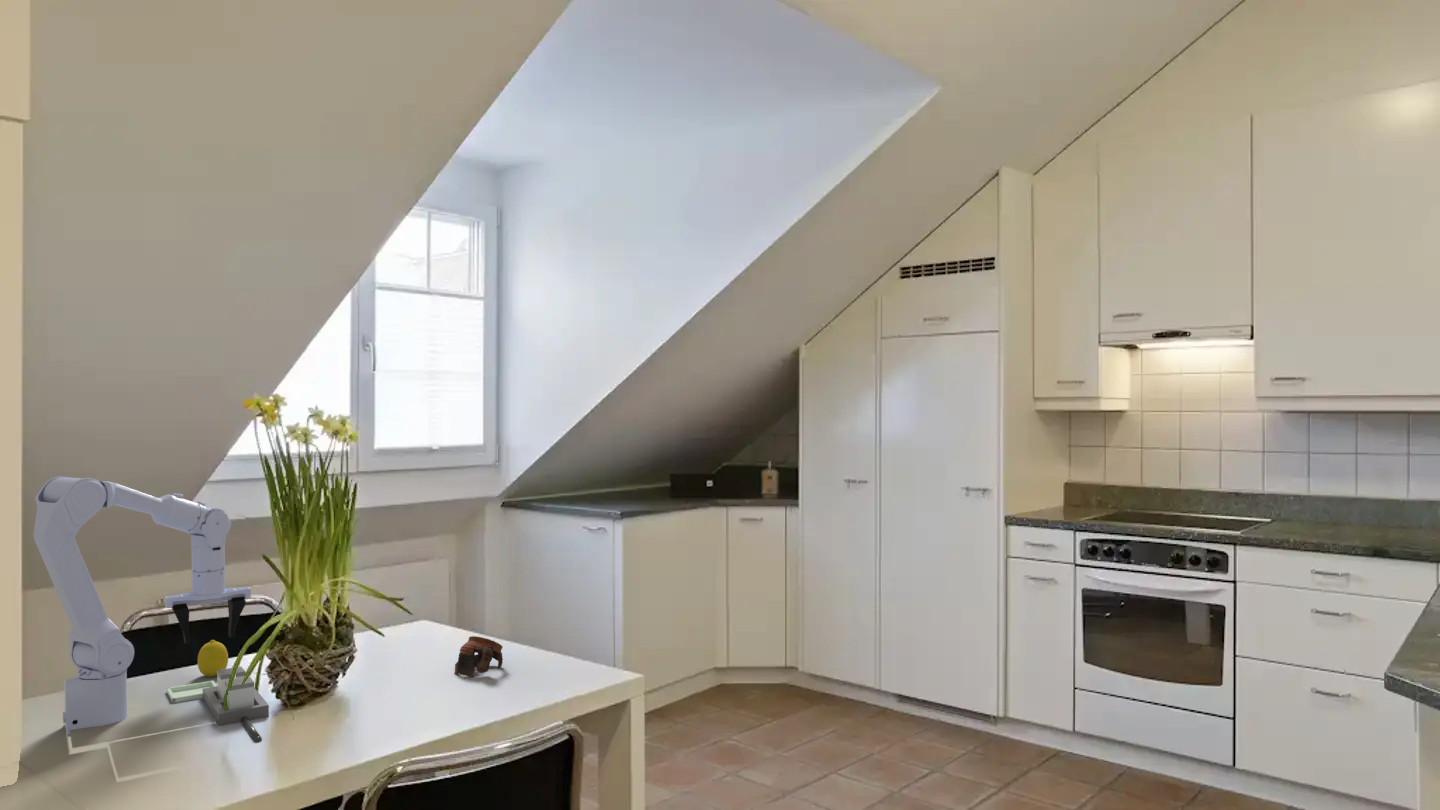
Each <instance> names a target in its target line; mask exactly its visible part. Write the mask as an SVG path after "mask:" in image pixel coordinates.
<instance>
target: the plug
mask: <svg viewBox="0 0 1440 810" xmlns="http://www.w3.org/2000/svg"><path fill="white" fill-rule="evenodd" d="M237 667H238V669H237V671H236V678H235V679H239V678H244V677H246V670H245V669H244V668H243V666H237ZM233 668H234V667H230V668H226V669H221V670H217V676H216V679H217V686H218V699H222V698H224V695H225V681H227V680H229V678H230V675H231V673H232V670H233Z"/></svg>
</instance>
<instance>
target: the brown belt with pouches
mask: <svg viewBox="0 0 1440 810" xmlns="http://www.w3.org/2000/svg"><path fill="white" fill-rule="evenodd" d="M502 649H503V645H502V644H500V643H499V642H496V641H495V640H492V639H489V638H487V637H483V636H482V637H481V636H477V635H476V636H475V635H473V636H469V637H468V640H467V642H465V643H463V644H462V646H461V647H460V649H459V654H458V659H457V660H458V661H457V662H456V663H455V664H454V674H459V675H461V676H466V677H469V676H473V677H474V675H475V671H477V672H478V673H480V674H484V673H488V671H489V669H490V665H491V662H492V659H494V660H495V661H497V667H498V668H499V667H500V668H501V667H502V666H503V660H504V658H503V652H502Z"/></svg>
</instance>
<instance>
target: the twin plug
mask: <svg viewBox="0 0 1440 810" xmlns="http://www.w3.org/2000/svg"><path fill="white" fill-rule="evenodd" d="M248 677H249V678H248V679H247V680H246V681H245V683H244V684H243V686H242V687H241V685H242V682H243V680H244V678H239V679H234V681H233V686H232V688H231V689H230V690H229V691H228V695H227V710H233V709H238V708H244V707H249V706H254V688H255V681H254V680H253V679H252V677H251V676H248ZM228 683H229V680H227V681H225V693H226V690H227V688H228Z"/></svg>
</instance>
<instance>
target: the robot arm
mask: <svg viewBox="0 0 1440 810" xmlns="http://www.w3.org/2000/svg"><path fill="white" fill-rule="evenodd" d="M183 497H184V494H181V493H175V492H174V493H173V492H172V494H168V493H167V494H165V495H162V496H160V497H156V496H153V495H150V494H148V493H144V492H141V491H139V490H137V489H133V488H130V487H128V486H126V485H121V484H120V483H117V482H111V481H105V480H98V479H96V478H92V477H91V478H90V477H83V478H82V477H81V478H79V477H70V476H69V477H68V476H67V475H64V476H63V475H59V476H55V477H53V478H50V479H49V480H47V481H46V482H45V483H44V484H43V485H42V487H41V488H40V490H39V492H38V493H37V494H36V496H35V497H34V500H35V501H34V502H35V503H36V507H37V509H36V515H35V522H34V530H33V534H32V535H33V541H34V543H35V545H36V547H37V549H38V552H39V554H40V557H41V559H42V561H43V564H44V566H45V568H46V571H47V572H48V575H49V578H50V580H51V582H52V584H53V587H54V589H55V591H56V593H57V597H58V599H59V600H60V602H61V605H62V607H63V610H64V612H65V614H66V616H67V619H68V622H69V623H70V626H71V630H70V632H69V633H68V635H67V636H68V640H69V642H70V650H69V657H70V660H71V662H72V663H73V665H75V666H76V667H77V676H75V677H72V678H71V677H70V678H66V679H64V686H63V687H64V711H63V712H62V722H63V724H64V727H65V733H66V736H71V731H74V730H79V729H85V728H93V727H103V726H107V725H112V724H116V723H118V722H121V721H123V720H126V718H127V717H128V690H127V689H128V685H127V683H128V679H127V677H128V675H127V672H128V668H129V667H130V666H131V664H132V662H133V660H134V658H135V647H134V645H133V643H132V642H131V641H129V639H127V638H125V637H124V635H123V634H122V632H121V630H120V628H119V627H118V626H117V625H116V624H115V623H114V622H113V621H112V620H111V619H110V618H109V617H108V615H107V612H106V609H105V608H104V605H103V603H102V601H101V598H100V596H99V593H98V592H97V591H98V590H97V589H96V586H95V584H94V581H93V579H92V576H91V574H90V572H89V570H88V568H87V564H86V563H85V559H84V558H83V556H82V552H81V550H80V548H79V545H78V543H77V541H76V538H75V537H76V535H77V534H78V533H79V531H80V529H81V528H82V526H84V525H85V524H86V523H87V522H88V521H89V520H90V519H91V518H92V517H94V516H95V515H96V514H97V513H98V512H99V511H100V510H101V509H102V508H106V509H107V508H111V507H113V506H117V507H121V508H125V509H128V510H132V511H134V512H135V511H136V512H140V513H144V514H147V515H150V516H151V519H152V520H153V522H154V523H155V524H156V525H159V526H163V527H167V528H171V529H173V530H177V531H181V532H184V533H186V534H187V535H188V536H190V542H191V544H190V547H191V548H190V549H191V551H190V552H191V592H187V593H180V594H174V595H173V594H172V595H166V596H164V599H165V600H164V601H165V605H164V606H165V608H166V609H171V610H172V612H173V613H174V614H175V617H176V620H177V621H178V623H179V626H180V628H181V632H182V637H183V643H184V644H185V645H189V644H191V638H190V628H189V627H190V609H189V606H190V605H196V604H197V605H198V604H207V603H216V602H222V601H223V602H224V601H227V608H228V609H227V610H228V627H227V628H228V631H227V632H228V637H229V639H232V638H233V639H234V638H235V634H236V628H237V625H238V622H239V619H240V617H241V614H242V612H243V610H244V608H245V606H246V600H245V599H247V600H248V599H251V597H252V595H251V591H252V590H251V587H249V586H245V587H231V588H230V587H229V588H226V548H225V547H226V546H225V545H226V543H227V542H226V541H227V539H226V538H227V535H228V533H229V532H230V530H231V527H232V521H231V520H230V519H229V516H228V514H227V513H226V511H224V510H223V509H221V508H213V507H206V503H205V502H203V501H197V502H196V501H195V502H194V501H191V500H188V499H185V498H183ZM74 721H75V722H76V721H77V722H76V723H73V722H74Z"/></svg>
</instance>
